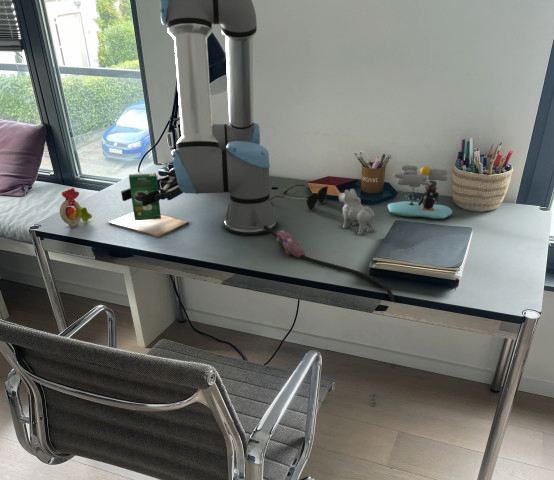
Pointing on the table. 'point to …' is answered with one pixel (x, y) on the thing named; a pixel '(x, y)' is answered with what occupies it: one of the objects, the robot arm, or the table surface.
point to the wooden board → (149, 224)
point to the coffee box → (139, 188)
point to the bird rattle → (70, 213)
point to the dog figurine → (356, 211)
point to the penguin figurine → (428, 205)
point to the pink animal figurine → (289, 244)
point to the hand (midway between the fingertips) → (132, 198)
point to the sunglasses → (311, 196)
